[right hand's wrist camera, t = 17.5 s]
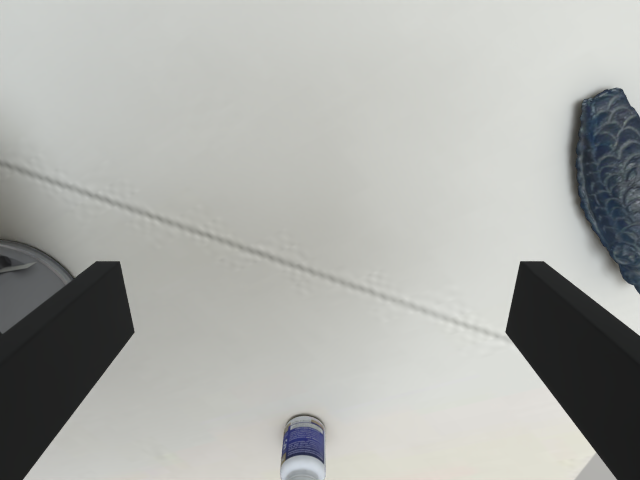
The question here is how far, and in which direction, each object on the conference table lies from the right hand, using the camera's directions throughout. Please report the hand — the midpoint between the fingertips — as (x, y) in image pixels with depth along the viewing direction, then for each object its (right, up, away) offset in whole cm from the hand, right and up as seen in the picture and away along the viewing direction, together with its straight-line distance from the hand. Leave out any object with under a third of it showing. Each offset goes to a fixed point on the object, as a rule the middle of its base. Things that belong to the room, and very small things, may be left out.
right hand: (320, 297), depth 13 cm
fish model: (+29, +6, +25) cm, 39 cm away
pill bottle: (-2, -22, +37) cm, 43 cm away
